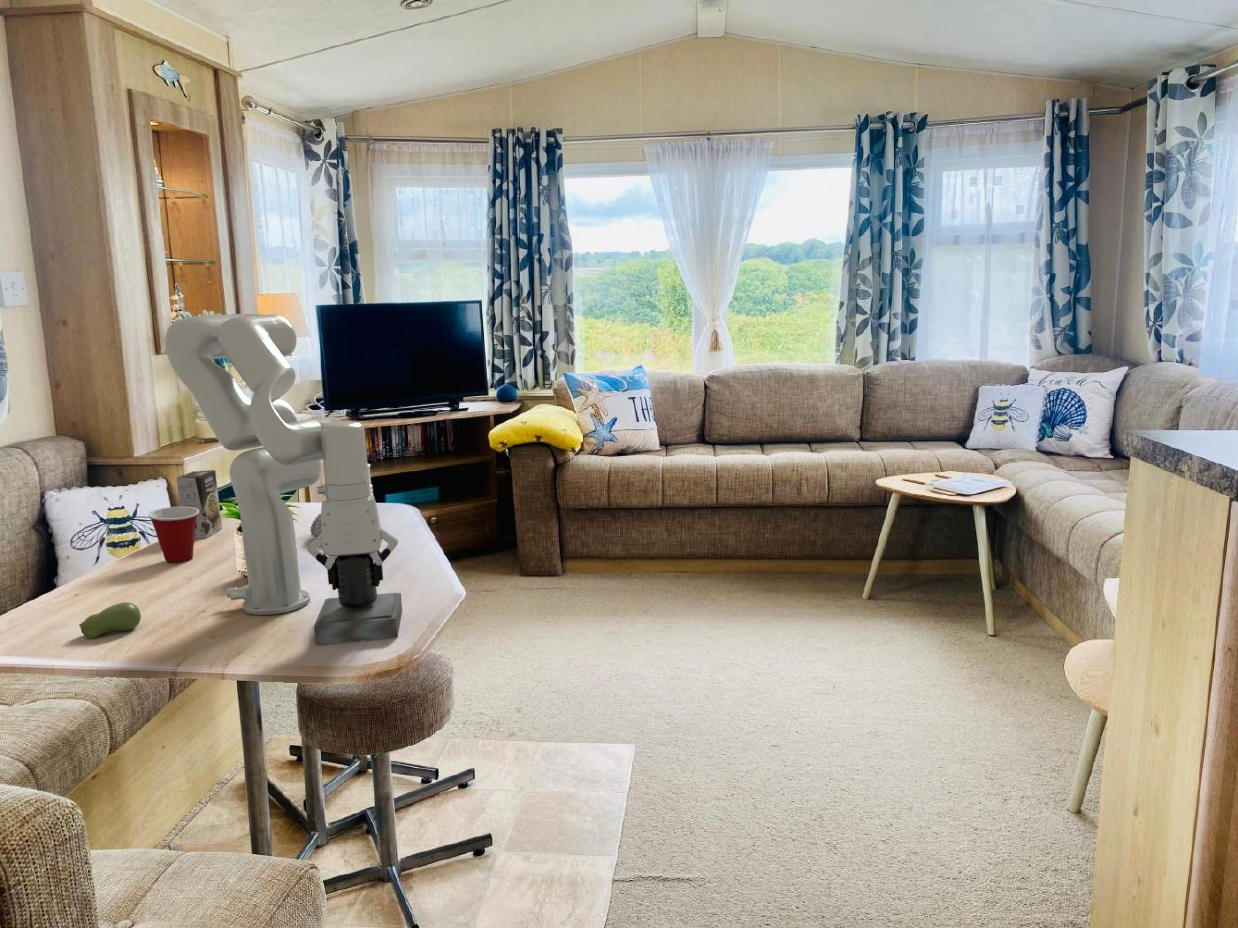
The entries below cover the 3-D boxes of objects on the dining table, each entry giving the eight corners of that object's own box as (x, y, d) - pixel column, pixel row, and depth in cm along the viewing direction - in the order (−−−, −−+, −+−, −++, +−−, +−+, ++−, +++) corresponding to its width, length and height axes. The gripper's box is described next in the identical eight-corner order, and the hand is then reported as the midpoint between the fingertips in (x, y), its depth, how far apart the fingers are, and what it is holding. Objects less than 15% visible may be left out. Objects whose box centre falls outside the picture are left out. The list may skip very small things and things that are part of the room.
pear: (135, 603, 168) (75, 622, 164) (144, 629, 169) (85, 648, 165) (135, 594, 173) (77, 613, 169) (144, 619, 174) (86, 638, 170)
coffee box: (207, 538, 233) (200, 476, 230) (183, 539, 233) (174, 477, 230) (223, 528, 242) (216, 469, 239) (199, 529, 242) (192, 470, 239)
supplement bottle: (365, 593, 172) (359, 532, 169) (384, 601, 167) (378, 538, 164) (331, 603, 167) (325, 540, 164) (350, 611, 162) (343, 547, 160)
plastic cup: (186, 567, 208) (180, 517, 206) (144, 566, 210) (137, 516, 208) (215, 553, 219) (209, 505, 216) (174, 553, 220) (168, 504, 218)
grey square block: (315, 645, 160) (313, 623, 159) (327, 617, 173) (325, 597, 172) (397, 637, 162) (395, 616, 161) (402, 610, 176) (400, 590, 175)
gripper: (293, 499, 158) (303, 596, 161) (396, 492, 160) (404, 588, 164) (301, 489, 165) (310, 583, 168) (399, 483, 168) (406, 575, 171)
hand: (356, 585), depth 166 cm, fingers closed on supplement bottle, 6 cm apart
